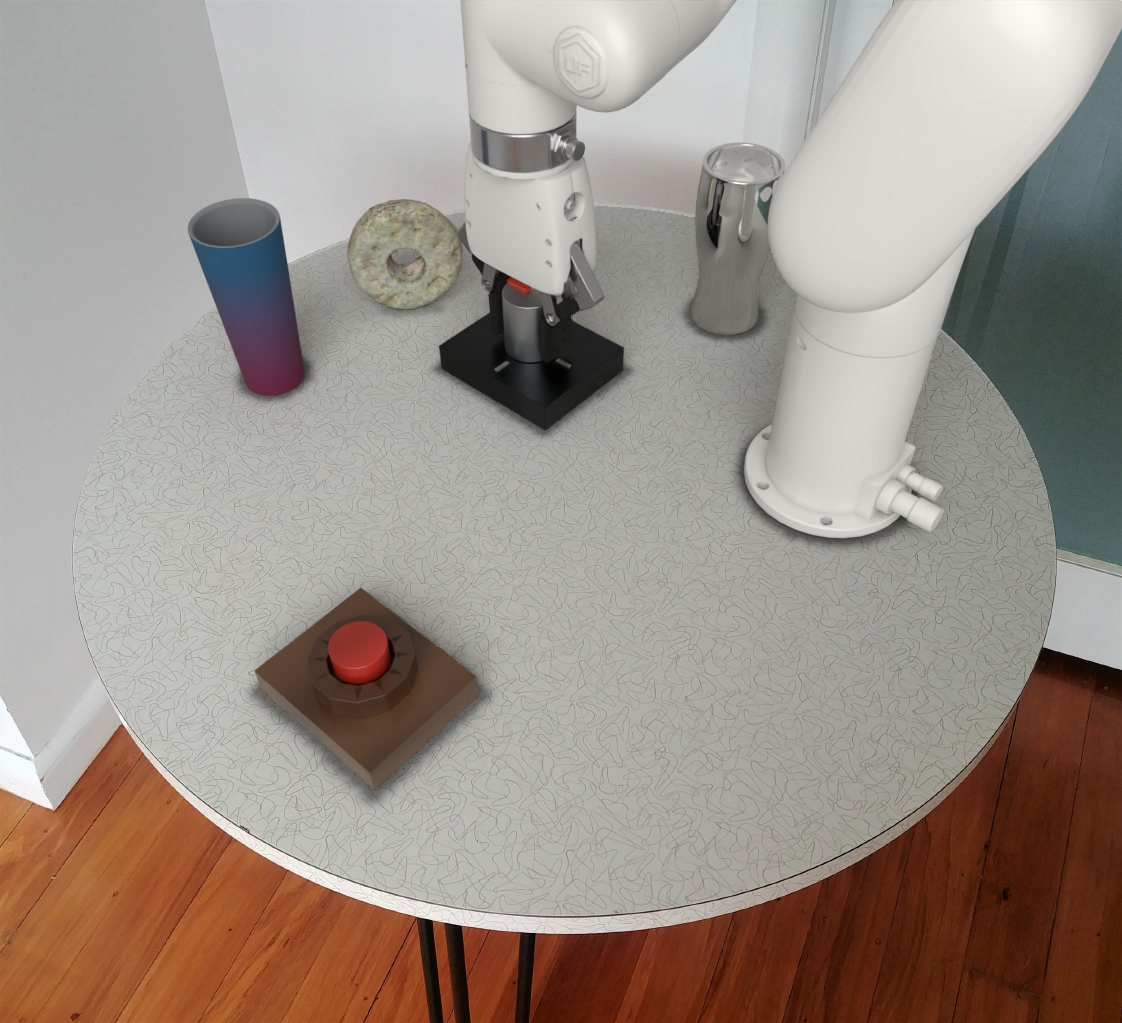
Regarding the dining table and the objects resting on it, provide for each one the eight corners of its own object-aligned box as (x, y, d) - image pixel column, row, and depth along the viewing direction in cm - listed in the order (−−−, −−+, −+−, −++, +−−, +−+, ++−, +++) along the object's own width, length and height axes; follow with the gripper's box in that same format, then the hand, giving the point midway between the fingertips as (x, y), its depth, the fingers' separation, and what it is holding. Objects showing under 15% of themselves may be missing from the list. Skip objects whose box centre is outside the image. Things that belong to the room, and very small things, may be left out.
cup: (276, 413, 87) (234, 257, 76) (217, 384, 90) (167, 230, 79) (331, 368, 91) (298, 214, 80) (273, 342, 94) (233, 189, 83)
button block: (479, 695, 68) (475, 659, 66) (374, 791, 64) (365, 757, 61) (365, 606, 73) (356, 569, 71) (261, 689, 69) (247, 654, 66)
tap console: (623, 370, 91) (624, 346, 89) (545, 431, 86) (544, 406, 84) (520, 315, 96) (519, 290, 94) (441, 368, 91) (438, 344, 89)
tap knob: (568, 344, 89) (567, 286, 85) (533, 369, 87) (530, 311, 83) (529, 323, 91) (527, 266, 87) (494, 347, 89) (490, 290, 85)
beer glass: (725, 349, 92) (746, 194, 81) (669, 313, 96) (682, 160, 85) (779, 317, 95) (806, 164, 84) (722, 283, 99) (741, 132, 88)
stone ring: (355, 317, 96) (337, 219, 89) (356, 294, 98) (339, 197, 91) (467, 309, 97) (458, 212, 89) (466, 287, 99) (457, 190, 92)
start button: (402, 658, 66) (399, 641, 65) (359, 695, 64) (354, 678, 63) (364, 627, 68) (360, 611, 66) (320, 663, 66) (315, 646, 65)
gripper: (651, 153, 73) (638, 360, 86) (474, 80, 81) (488, 281, 94) (580, 197, 69) (579, 406, 83) (402, 116, 77) (427, 320, 90)
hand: (530, 337), depth 88 cm, fingers open, 4 cm apart
